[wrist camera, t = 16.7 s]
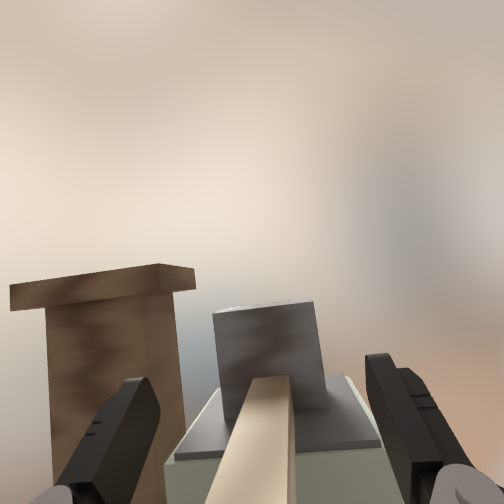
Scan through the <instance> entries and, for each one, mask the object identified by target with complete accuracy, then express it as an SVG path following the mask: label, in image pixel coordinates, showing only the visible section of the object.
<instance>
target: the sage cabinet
mask: <svg viewBox="0 0 504 504" xmlns="http://www.w3.org/2000/svg"><path fill="white" fill-rule="evenodd" d="M324 376H325V383H326V389H327V396H328V403H329V409H330V410H324V411H312V412H300V413H294V428H295V462H296V495H297V504H403V499H402V495H401V493H400V490H399V487H398V484H397V481H396V478H395V475H394V473H393V470H392V467H391V464H390V461H389V458H388V456H387V453H386V450H385V447H384V444H383V441H382V438H381V436H380V433H379V430H378V427H377V424H376V421H375V418H374V417H373V415H372V414H371V412H370V410H369V409H368V407H367V405H366V404H365V402H364V401H363V399H362V397H361V396H360V394H359V392H358V391H357V389H356V388H355V386H354V384H353V383H352V381H351V380H350V378H349V377H345V376H344V374H343V373H341V374H330V375H324ZM237 419H238V418H227V419H224V414H223V405H222V396H221V387H219V389H217V390H216V391H215V393H214V394H213V395H212V397H211V398H210V400H209V401H208V403H207V404H206V405H205V407H204V408H203V410H202V411H201V413H200V414H199V415H198V417H197V418H196V420H195V421H194V422H193V424H192V425H191V427H190V428H189V430H188V431H187V432H186V434H185V435H184V437H183V438H182V440H181V441H180V442H179V444H178V445H177V447H176V448H175V449H174V451H173V452H172V454H171V455H170V457H169V458H168V459H167V461H166V462H165V464H164V475H165V487H166V498H167V504H205V501H206V499H207V496H208V494H209V491H210V489H211V486H212V483H213V481H214V478H215V476H216V473H217V471H218V468H219V465H220V463H221V460H222V458H223V455H224V453H225V450H226V447H227V445H228V442H229V440H230V437H231V434H232V432H233V429H234V427H235V424H236V422H237Z"/></svg>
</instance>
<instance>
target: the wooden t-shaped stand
mask: <svg viewBox="0 0 504 504" xmlns="http://www.w3.org/2000/svg"><path fill="white" fill-rule="evenodd" d="M193 289H196V282H195V273H194V269H193V268H186V267H180V266H173V265H166V264H159V263H158V264H151V265H144V266H137V267H130V268H124V269H117V270H110V271H102V272H96V273H89V274H82V275H75V276H68V277H61V278H55V279H47V280H40V281H33V282H26V283H19V284H13V285H10V311H18V310H29V309H39V308H45V316H46V338H47V358H48V381H49V402H50V422H51V423H50V424H51V445H52V466H53V486H54V485H55V484H56V482H57V480H58V479H59V477H60V475H61V473H62V472H63V470H64V468H65V467H66V465H67V463H68V461H69V460H70V458H71V456H72V455H73V453H74V451H75V449H76V448H77V446H78V444H79V442H80V441H81V439H82V437H84V436H85V432H86V430H87V429H88V427H89V425H91V424H92V420H93V418H94V417H95V415H96V413H97V412H98V410H99V408H100V407H101V406H102V405H103V404H104V403H105V402H106V401H107V400H108V399H109V398H110V397H111V396H112V395H116V394H117V392H118V390H119V389H120V387H121V385H122V383H123V382H124V381H125V380H126V379H131V378H141V377H147V378H148V379H149V380H150V383H151V385H152V388H153V390H154V392H155V395H156V397H157V399H158V402H159V404H160V409H161V416H160V422H159V425H158V428H157V431H156V433H155V436H154V439H153V442H152V445H151V447H150V450H149V453H148V456H147V458H146V461H145V464H144V467H143V470H142V472H141V475H140V478H139V481H138V484H137V486H136V489H135V492H134V495H133V498H132V500H131V503H130V504H167V498H166V487H165V475H164V464H165V462H166V461H167V459H168V458H169V457H170V455H171V454H172V452H173V451H174V449H175V448H176V447H177V445H178V444H179V442H180V441H181V440H182V438H183V437H184V435H185V434H186V426H185V415H184V405H183V395H182V384H181V374H180V365H179V353H178V343H177V333H176V322H175V313H174V302H173V292H178V291H185V290H193Z"/></svg>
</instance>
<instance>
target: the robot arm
mask: <svg viewBox="0 0 504 504" xmlns="http://www.w3.org/2000/svg"><path fill="white" fill-rule="evenodd" d="M365 369H366V370H365V372H366V390H367V396H368V400H369V404H370V407H371V410H372V413H373V416H374V418H375V421H376V424H377V427H378V430H379V433H380V436H381V438H382V441H383V444H384V447H385V450H386V453H387V456H388V458H389V461H390V464H391V467H392V470H393V473H394V475H395V478H396V481H397V484H398V487H399V490H400V493H401V495H402V498H403V501H404V504H504V488H503V487H500V486H499V485H497V484H495V483H494V482H493V481H492V480H491V479H490V478H489V477H488V476H486V475H485V474H483V473H482V472H480V471H479V470H477V469H476V468H475V467H474V466H473V465H472V463H471V462H470V460H469V459H468V457H467V456H466V454H465V453H464V451H463V449H462V447H461V446H460V444H459V442H458V440H457V439H456V437H455V435H454V433H453V432H452V430H451V428H450V427H449V425H448V423H447V422H446V420H445V418H444V416H443V415H442V413H441V411H440V410H439V409H438V406H437V404H436V403H435V401H434V399H433V398H432V397H431V395H430V392H429V391H428V389H427V387H426V385H425V384H424V382H423V380H422V379H421V378H420V377H419V376H417V375H416V374H415V373H414V372H413V371H412V370H410V369H409V368H396V367H395V364H394V362H393V360H392V358H391V356H390V355H389V354H388V353H382V354H371V355H366V356H365ZM160 416H161V409H160V404H159V402H158V399H157V397H156V395H155V392H154V390H153V388H152V385H151V383H150V380H149V379H148V378H147V377H141V378H131V379H126V380H125V381H124V382H123V383H122V385H121V387H120V389H119V390H118V392H117V394H116V395H112V396H111V397H110V398H109V399H108V400H107V401H106V402H105V403H104V404H103V405H102V406H101V407H100V408H99V410H98V412H97V413H96V415H95V417H94V418H93V420H92V424H91V425H89V427H88V429H87V430H86V432H85V436H84V437H82V439H81V441H80V442H79V444H78V446H77V448H76V449H75V451H74V453H73V455H72V456H71V458H70V460H69V461H68V463H67V465H66V467H65V468H64V470H63V472H62V473H61V475H60V477H59V479H58V480H57V482H56V484H55V485H54V486H53V487H51V488H49V489H47V490H45V491H44V492H42V493H41V494H39V495H38V496H37V497H36V498H35V499H34V500H33V501H32V502H31V503H30V504H130V503H131V500H132V498H133V495H134V492H135V489H136V486H137V484H138V481H139V478H140V475H141V472H142V470H143V467H144V464H145V461H146V458H147V456H148V453H149V450H150V447H151V445H152V442H153V439H154V436H155V433H156V431H157V428H158V425H159V422H160Z"/></svg>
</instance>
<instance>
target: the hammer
mask: <svg viewBox="0 0 504 504" xmlns="http://www.w3.org/2000/svg"><path fill="white" fill-rule="evenodd" d="M212 315H213V323H214V333H215V342H216V351H217V359H218V368H219V378H220V385H221V386H220V387H221V396H222V405H223V414H224V419H227V418H238V419H237V422H236V424H235V427H234V429H233V432H232V434H231V437H230V440H229V442H228V445H227V447H226V450H225V453H224V455H223V458H222V460H221V463H220V465H219V468H218V471H217V473H216V476H215V478H214V481H213V483H212V486H211V489H210V491H209V494H208V496H207V499H206V501H205V504H297V495H296V462H295V428H294V413H300V412H312V411H324V410H330V409H329V403H328V396H327V389H326V383H325V376H324V369H323V363H322V357H321V350H320V344H319V336H318V330H317V324H316V316H315V310H314V303H313V301H312V300H311V299H310V298H306V299H298V300H290V301H282V302H273V303H265V304H257V305H249V306H240V307H232V308H225V309H223V310H220V311H218V312H215V313H213V314H212Z"/></svg>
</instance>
